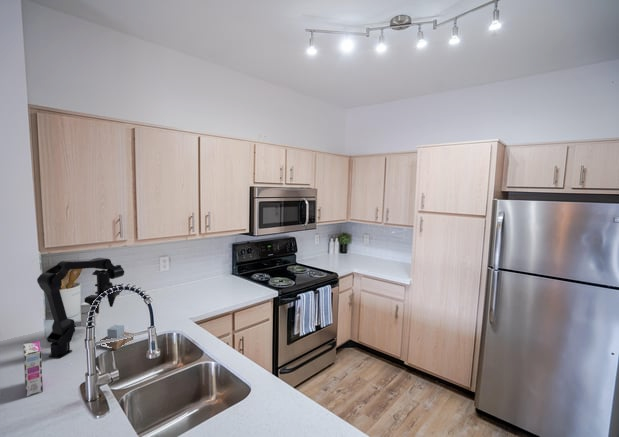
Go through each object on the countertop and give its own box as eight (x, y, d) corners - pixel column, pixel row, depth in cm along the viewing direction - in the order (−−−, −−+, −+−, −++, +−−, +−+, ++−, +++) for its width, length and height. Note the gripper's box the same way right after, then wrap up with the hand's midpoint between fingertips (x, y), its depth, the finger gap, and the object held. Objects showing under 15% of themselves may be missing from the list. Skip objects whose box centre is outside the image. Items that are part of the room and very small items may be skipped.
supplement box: (80, 326, 171) (79, 304, 169) (86, 321, 178) (85, 300, 177) (95, 325, 172) (94, 303, 171) (101, 319, 180) (100, 299, 179)
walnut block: (116, 350, 147) (116, 342, 146) (100, 347, 149) (99, 339, 149) (133, 340, 156) (133, 333, 156) (117, 338, 159) (117, 330, 158)
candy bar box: (44, 391, 116) (41, 350, 114) (26, 397, 112) (23, 355, 111) (41, 378, 124) (39, 339, 122) (25, 383, 120) (22, 344, 119)
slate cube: (117, 339, 149) (116, 329, 149) (107, 339, 150) (107, 329, 149) (124, 335, 154) (123, 325, 154) (115, 334, 155) (114, 324, 154)
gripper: (103, 287, 150) (104, 318, 152) (129, 277, 169) (130, 304, 170) (82, 286, 152) (84, 316, 153) (111, 276, 170) (112, 303, 171)
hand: (104, 310), depth 162 cm, fingers open, 9 cm apart
